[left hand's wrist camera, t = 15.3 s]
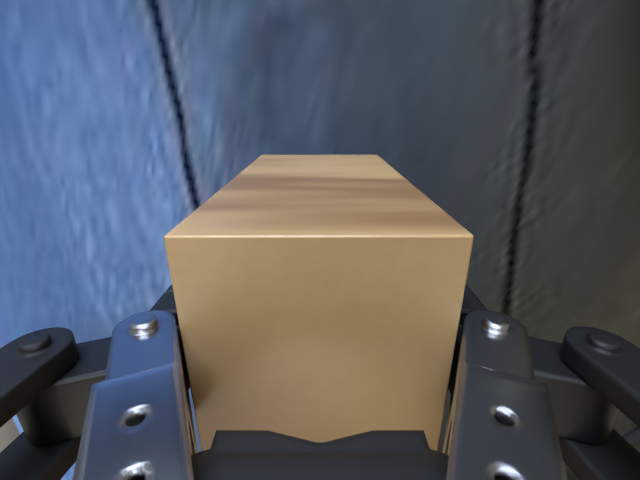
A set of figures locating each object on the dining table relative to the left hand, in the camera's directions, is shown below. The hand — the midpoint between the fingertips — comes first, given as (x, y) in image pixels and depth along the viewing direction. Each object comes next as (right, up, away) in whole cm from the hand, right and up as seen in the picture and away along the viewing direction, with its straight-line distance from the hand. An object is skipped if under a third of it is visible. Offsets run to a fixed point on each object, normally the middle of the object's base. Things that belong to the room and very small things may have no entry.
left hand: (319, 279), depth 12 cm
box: (0, -6, +10) cm, 11 cm away
